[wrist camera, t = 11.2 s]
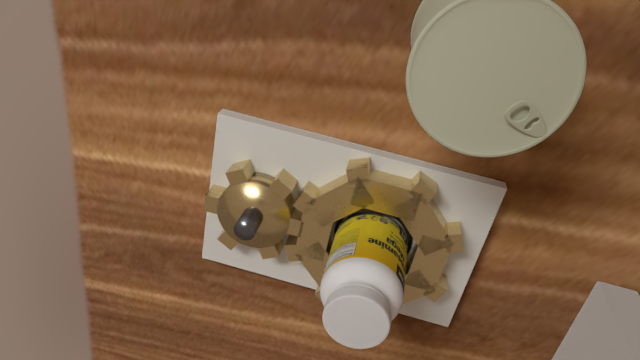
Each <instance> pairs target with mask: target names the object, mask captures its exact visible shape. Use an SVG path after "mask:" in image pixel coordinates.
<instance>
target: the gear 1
mask: <svg viewBox="0 0 640 360" xmlns="http://www.w3.org/2000/svg"><path fill="white" fill-rule="evenodd" d="M225 174H226V176H227V178H228V181H229V183H230V184H229V186H228V187H227V188H226V187H222V186H218V185H215V184H214V185H213V186H212V187H211V188H210V190H209V191H208V192H207V193H206V195H205V203H204V211H207V212H211V213H214V214H217V215H218V219H219V222H220V224H221V226H222V227H223V231H222V232H221V234H220V235H219V237H218V238H217V240H219V241H220V242H221V243H222V244H223V245H225V246H226V247H227V248H228V249H230V250H232V249H233V248H234V247H235V246H236V245H237V244H238V243H241V244H243V245H246V246H249V247H254V248H258V250H259V252H260V254H261V257H262V259H268V258H274V257H279V256H280V254H281V251H282V249H283V247H284V245H285V243H284V241H283V238H284V237H285V235H286V234H290V235H294V236H297V237H298V235H299V237H301V235H300V234H302V233H301V232H302V229H303V226H302V225H303V224H304V223H302V221H301V220H302V215H303V212H301V211H300V210H298V209H297V208H295V207H294V206H293V204H294V199H293V197H292V194H291V192H292V191H293V189H294V187H295V185H296V183H297V181H298V180H297V179H295V178H294V177H293V176H292V175H291V174H290V173H289V172H288V171H286V170H285V169H284V168H283V169H282V170H281V171H280V172H279V173H278V174H277V175H276V176H275V177H273V176H271V175H268V174H265V173H261V172H255V170H254V168H253V165H252V163H251V160H250V159H248V160H244V161H240V162H236V163H233V164H232V165H231V167H230V168H229V169H228V170H227V172H226V173H225ZM300 225H301V227H300ZM287 231H288V232H287ZM299 231H300V232H299ZM298 233H299V234H298Z"/></svg>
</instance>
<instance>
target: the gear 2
mask: <svg viewBox="0 0 640 360" xmlns="http://www.w3.org/2000/svg"><path fill="white" fill-rule="evenodd" d="M436 194H437V183H436V182H435V181H434V180H433V179H431V178H430V177H428V176H427V175H426V174H424V173H423V172H422V171H420V170H419V171H418V173H417V174H416V175H415V176H414V177H413V178H412V179H409V178H405V177H401V176H397V175H394V174H390V173H386V172H382V171H378V170H375V169H372V166H371V160H370V157H367V158H357V159H349V162H348V165H347V168H346V174H344V175H342V176H340V177H338V178H336V179H335V180H333V181H331V182H329V183H327V184H325V185H323V186H321V187H317V186H316V185H314V184H313V183H311V182H310V181H308V182H307V183H306V185H305V186H304V187H303V189H302V190H301V191H300V192H299V194H298V195H297V198H296V200H295V202H294V204H293V206H294V207H295V208H297V209H298V210H300V211H301V212H303V215H302V220H301V221H302V223H304V224H303V225H302V226H303V229H302V232H301V233H302V234H300V235H301V237H299V235H298V237H297V236H294V235H290V234H289V236H288V239H287V241H286V243H285V249H286V253H287V257H288V260H289V262H291V261H301V263H302V264H303V266H304V267H305V268H306V270H307V271H308V272H309V274H310V275H311V276H312V278H313V279H314V280H315V282H316V283H317V284H318V285H317V289H316V292H315V295H314V296H316V297H317V298H319V299H320V300H321V297H320V285H321V280H322V277H323V274H324V270H325V267H326V264H327V261H328V257H329V254H330V251H331V248H332V244H333V243H332V241H331V240H330V235H331V231H332V227H333V223H334V222H335V221H337V222H336V225H335V229H334V238H335V234H336V231H337V229H338V226H339V225H340V223H341V222H342V220H343V219H344V218H345V217H346V216H348V215H350V214H352V213H354V212H356V211H358V210H362V209H369V210H373V211H377V212H380V213H384V214H388V215H392V216H394V217H395V218H396V219H397V220H398V221H399V222H400V223H401V224H402V226H403V228H404V230H405V232H406V235H407V242H408V248H407V255H408V253H409V252H410V249H411V247H412V242H413V239H414V240H415V244H414V247H413V250H412V253H411V256H410V259H409V261H406V275H405V288H404V298H403V304H405V303H407V302H410V301H413V300H415V299H418V298H420V297H423V296H426V297H427V298H429V299H430V300H432V301H433V302H435V301H437V300H438V299H439V298H440V297H441V296H442V295H443V294H444V293H445V292H447V276H446V275H444V274H443V273H442V272H443V269H444V267H445V264H446V262H447V259H448V257H449V254H450V253H456V252H463V244H462V233H461V224H460V221H457V222H447V221H446V219H445V218H444V216H443V214H442V213H441V211H440V209H439V208H438V206H437V205H436V203H435V201H434V200H433V197H434V196H435V195H436ZM300 227H301V225H300ZM299 232H300V231H299ZM298 234H299V233H298Z"/></svg>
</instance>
